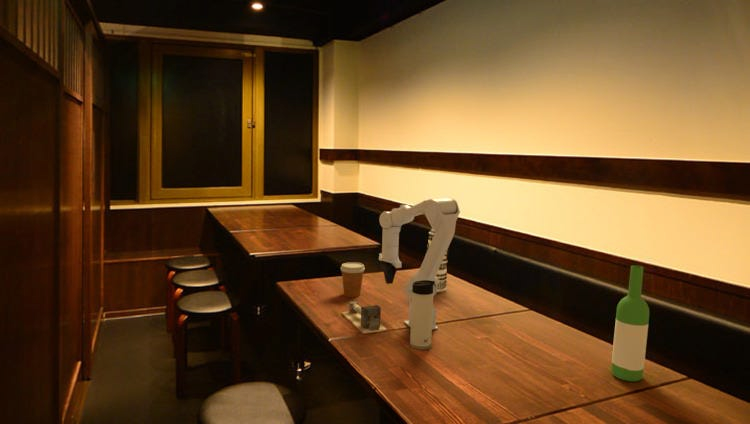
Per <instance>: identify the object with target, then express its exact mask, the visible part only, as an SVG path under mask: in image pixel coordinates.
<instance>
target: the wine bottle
mask: <svg viewBox="0 0 750 424" xmlns="http://www.w3.org/2000/svg"><path fill="white" fill-rule="evenodd" d="M643 276H644V266H641V265H637V264H636V265H635V264H634V265H631V266H630V273H629V283H628V291H627V292H628V293H627V295H626V296H624V297H623V298H621V299H620V301H619V302H618V304H617V306H616V313H615V324H614V325H615V326H614V333H613V334H614V335H613V343H612V352H611V353H612V355H611V356H612V357H611V366H610V370H611V373H612V375H613V376H614V377H616V378H617V379H619V380H622V381H626V382H638V381H641V380H642V379H643V377H644V369H645V362H646V352H647V350H646V349H647V344H648V343H647V340H648V332H649V319H650V307H649V305H648V303H647V302H646V301H645V300H644V298H642V289H643V278H644V277H643Z"/></svg>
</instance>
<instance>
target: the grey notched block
mask: <svg viewBox="0 0 750 424" xmlns="http://www.w3.org/2000/svg"><path fill="white" fill-rule="evenodd" d="M360 307H361V326H362V327H364V328H369V323H368V317H369V316H373V317H374V318H378V319H379V326H380V324H381V319H382V318H381V317H382V315H381V312H382V308H381V307H380V306H379V305H376V304H375V305H367V306H360Z"/></svg>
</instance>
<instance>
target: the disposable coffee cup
mask: <svg viewBox="0 0 750 424" xmlns="http://www.w3.org/2000/svg"><path fill="white" fill-rule="evenodd" d="M365 270H366V268H365V265H364V264H363V263H361V262H345V263H342V264H341V266H340V271H341V278H342V287H343V295H344V296H345V297H347V298H348V297H349V298H356V297H360V296H361V292H362V285H363V278H364V272H365Z"/></svg>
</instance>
